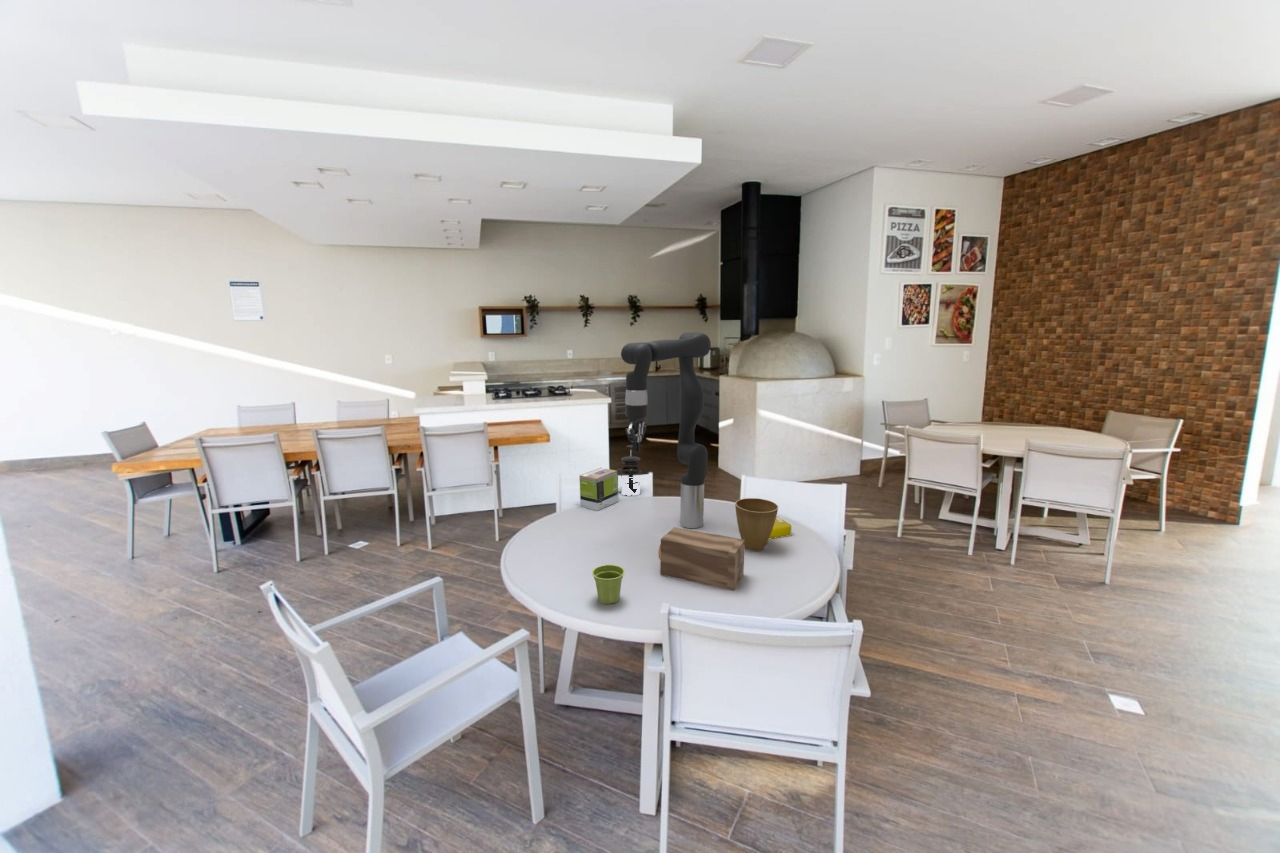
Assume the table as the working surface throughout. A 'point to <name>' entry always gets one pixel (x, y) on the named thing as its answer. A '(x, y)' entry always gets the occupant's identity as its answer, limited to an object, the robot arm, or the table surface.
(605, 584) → the plant pot
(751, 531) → the plant pot
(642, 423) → the robot arm
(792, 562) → the table surface
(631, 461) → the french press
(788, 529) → the element tile
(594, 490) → the tea box
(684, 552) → the box
